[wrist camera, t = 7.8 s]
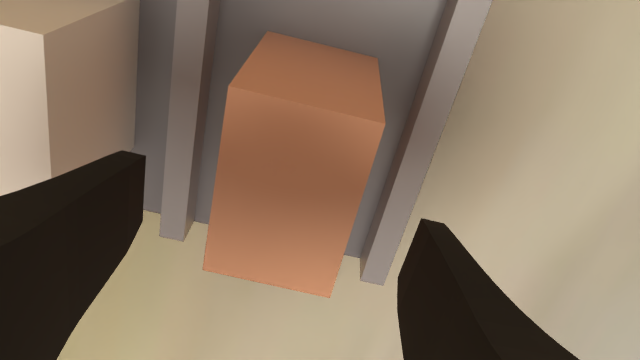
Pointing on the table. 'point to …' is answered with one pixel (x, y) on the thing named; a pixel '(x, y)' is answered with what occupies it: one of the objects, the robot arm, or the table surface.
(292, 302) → the table surface
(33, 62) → the white plug
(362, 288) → the table surface
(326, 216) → the terracotta plug
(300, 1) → the slot rack
